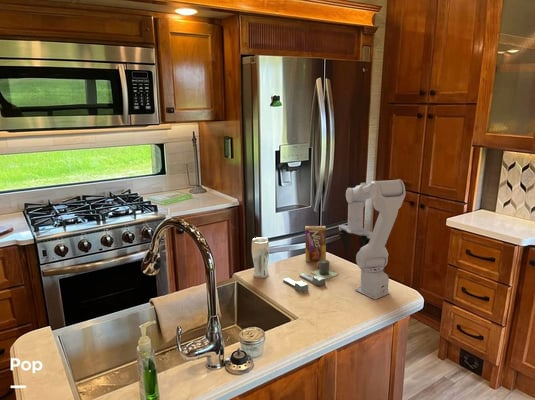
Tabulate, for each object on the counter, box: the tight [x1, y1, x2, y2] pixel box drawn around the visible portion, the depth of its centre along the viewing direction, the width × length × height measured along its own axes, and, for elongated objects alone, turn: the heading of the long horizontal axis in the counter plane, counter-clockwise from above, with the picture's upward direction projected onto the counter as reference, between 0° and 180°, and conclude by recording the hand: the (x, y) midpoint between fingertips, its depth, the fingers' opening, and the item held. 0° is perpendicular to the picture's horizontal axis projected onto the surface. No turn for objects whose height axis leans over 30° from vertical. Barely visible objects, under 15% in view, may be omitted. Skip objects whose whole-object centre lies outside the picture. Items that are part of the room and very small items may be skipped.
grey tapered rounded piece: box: [316, 259, 330, 276], centre depth 164 cm, size 10×4×5 cm, turn 9°
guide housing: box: [282, 272, 326, 294], centre depth 154 cm, size 12×11×3 cm
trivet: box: [310, 269, 339, 280], centre depth 162 cm, size 8×7×1 cm
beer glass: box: [251, 237, 270, 279], centre depth 161 cm, size 7×7×15 cm
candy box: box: [304, 225, 327, 263], centre depth 175 cm, size 9×4×15 cm, turn 85°
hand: (354, 251), depth 159 cm, fingers open, 7 cm apart
